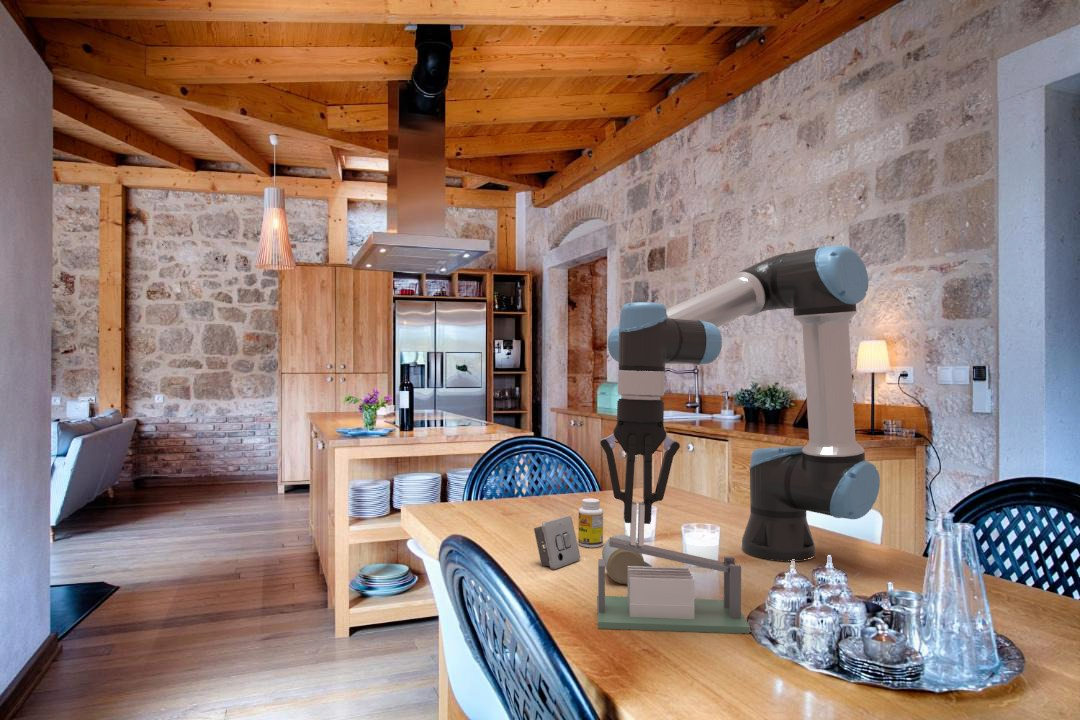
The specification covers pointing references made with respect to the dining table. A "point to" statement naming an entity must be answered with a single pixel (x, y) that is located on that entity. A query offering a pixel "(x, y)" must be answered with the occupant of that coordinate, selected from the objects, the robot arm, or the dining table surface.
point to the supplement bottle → (590, 524)
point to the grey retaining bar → (671, 555)
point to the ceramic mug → (621, 560)
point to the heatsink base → (670, 602)
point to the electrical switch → (557, 542)
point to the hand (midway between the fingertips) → (636, 543)
